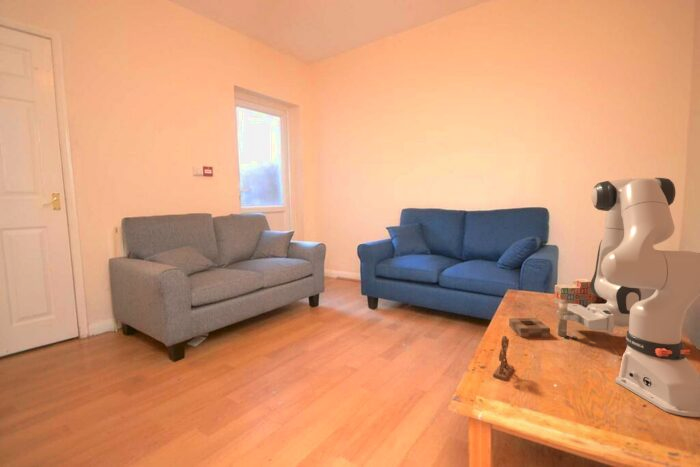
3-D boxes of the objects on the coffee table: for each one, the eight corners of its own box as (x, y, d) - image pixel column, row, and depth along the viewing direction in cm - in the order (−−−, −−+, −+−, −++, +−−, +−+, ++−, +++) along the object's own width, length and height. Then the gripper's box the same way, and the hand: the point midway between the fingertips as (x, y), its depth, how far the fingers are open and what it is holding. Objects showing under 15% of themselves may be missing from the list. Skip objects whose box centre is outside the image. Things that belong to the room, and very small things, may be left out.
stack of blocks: (560, 306, 164) (561, 281, 163) (553, 302, 171) (554, 278, 169) (606, 306, 162) (607, 281, 161) (598, 302, 169) (599, 278, 167)
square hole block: (549, 336, 130) (550, 328, 129) (520, 337, 130) (520, 328, 130) (535, 326, 140) (536, 318, 140) (509, 326, 141) (509, 318, 141)
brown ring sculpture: (505, 380, 100) (506, 342, 99) (492, 376, 103) (493, 339, 101) (513, 368, 107) (514, 333, 106) (501, 365, 109) (501, 330, 108)
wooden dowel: (567, 336, 129) (569, 301, 128) (560, 336, 129) (561, 301, 128) (563, 333, 132) (565, 299, 131) (556, 333, 132) (557, 299, 131)
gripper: (581, 299, 139) (546, 299, 140) (617, 316, 119) (576, 316, 120) (580, 313, 140) (546, 314, 141) (616, 333, 119) (576, 333, 120)
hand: (560, 315), depth 130 cm, fingers open, 3 cm apart
